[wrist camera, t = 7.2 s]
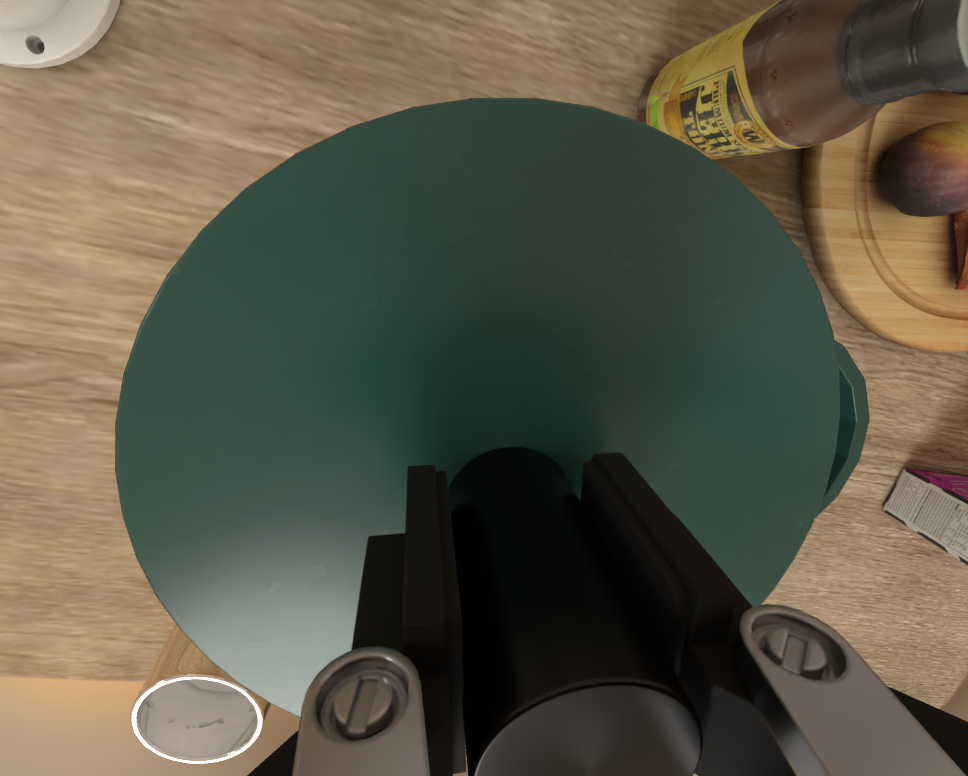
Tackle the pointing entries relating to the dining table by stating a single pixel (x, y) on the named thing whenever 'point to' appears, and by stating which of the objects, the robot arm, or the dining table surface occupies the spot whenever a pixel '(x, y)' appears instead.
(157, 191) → the dining table surface
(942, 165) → the wooden plate
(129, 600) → the dining table surface
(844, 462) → the tin
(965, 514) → the candy bar box
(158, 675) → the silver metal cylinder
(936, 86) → the sauce bottle
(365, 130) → the tin lid
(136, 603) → the dining table surface
